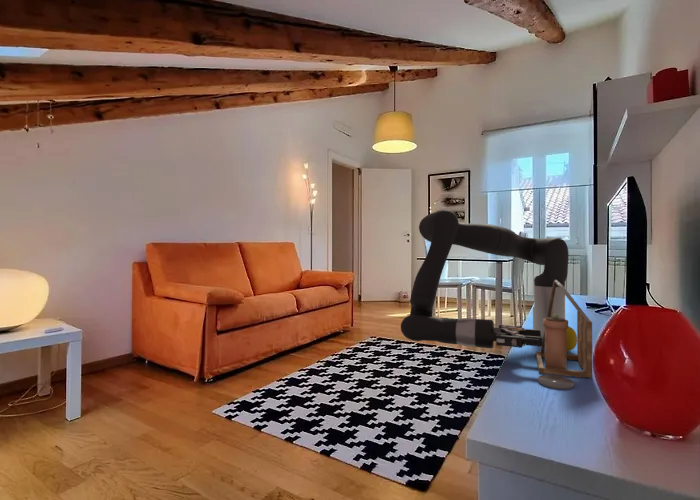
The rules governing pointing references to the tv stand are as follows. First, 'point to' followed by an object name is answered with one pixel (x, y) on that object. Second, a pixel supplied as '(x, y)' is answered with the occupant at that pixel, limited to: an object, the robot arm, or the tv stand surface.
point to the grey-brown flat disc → (556, 382)
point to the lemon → (570, 339)
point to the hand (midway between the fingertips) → (541, 337)
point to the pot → (555, 342)
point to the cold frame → (582, 342)
